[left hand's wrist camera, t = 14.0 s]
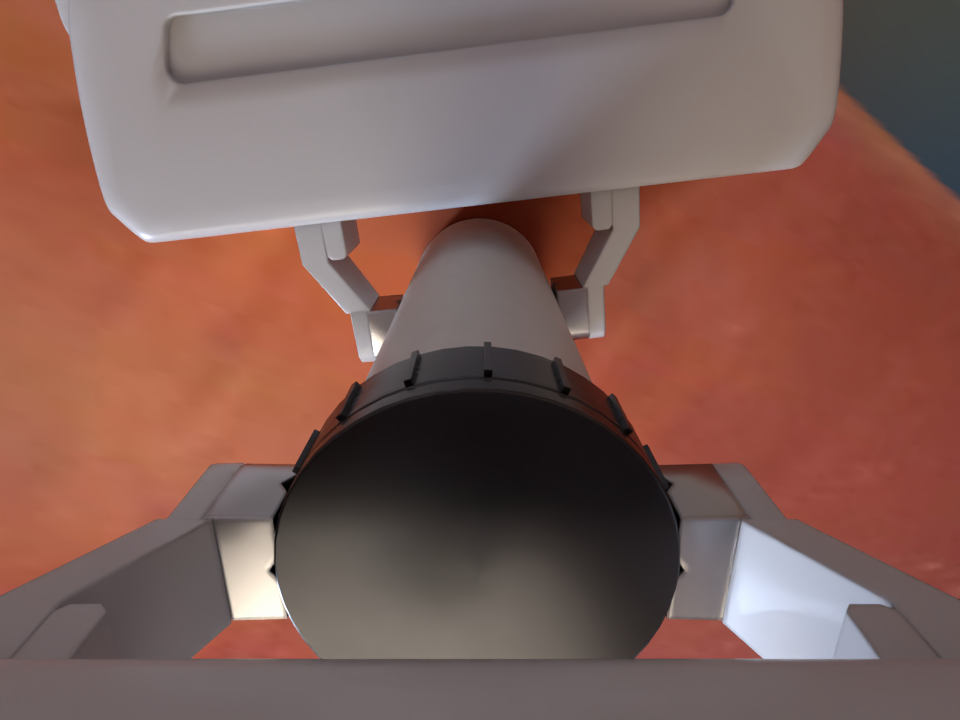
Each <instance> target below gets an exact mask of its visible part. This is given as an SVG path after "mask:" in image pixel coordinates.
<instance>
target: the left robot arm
mask: <svg viewBox="0 0 960 720" xmlns="http://www.w3.org/2000/svg"><path fill="white" fill-rule="evenodd" d="M294 466H295V464H244V463H219V464H213V465H210V466H209V467H208V469H207V470H206V471H205V472H204V474H203V475H202V476H201V477H200V478H199V480H198V481H197V482H196V483H195V485H194V486H193V487H192V488H191V490H190V491H189V492H188V493H187V495H186V496H185V497H184V498H183V500H182V501H181V502H180V503H179V504H178V506H177V507H176V508H175V509H174V511H173V512H172V513H171V514H170V516H169V517H168V518H167V519H156V520H154V521H152V522H150V523H148V524H146V525H144V526H142V527H140V528H138V529H136V530H134V531H132V532H130V533H128V534H126V535H124V536H122V537H120V538H118V539H116V540H114V541H111V542H109V543H107V544H105V545H103V546H101V547H99V548H97V549H95V550H93V551H91V552H89V553H87V554H85V555H83V556H81V557H79V558H77V559H75V560H73V561H71V562H68V563H66V564H64V565H62V566H60V567H58V568H56V569H54V570H52V571H50V572H48V573H46V574H44V575H42V576H40V577H38V578H36V579H34V580H32V581H30V582H28V583H26V584H23V585H21V586H19V587H17V588H15V589H13V590H11V591H9V592H7V593H5V594H3V595H1V596H0V720H960V600H959V599H957V598H955V597H953V596H951V595H949V594H947V593H945V592H943V591H941V590H939V589H937V588H934V587H932V586H930V585H928V584H926V583H924V582H922V581H920V580H918V579H916V578H914V577H912V576H910V575H908V574H906V573H904V572H902V571H900V570H898V569H896V568H894V567H892V566H890V565H888V564H886V563H884V562H882V561H880V560H878V559H876V558H874V557H872V556H870V555H868V554H866V553H864V552H862V551H860V550H858V549H856V548H854V547H852V546H850V545H848V544H846V543H844V542H842V541H839V540H837V539H835V538H833V537H831V536H829V535H827V534H825V533H823V532H821V531H819V530H817V529H815V528H813V527H811V526H809V525H807V524H805V523H803V522H801V521H799V520H797V519H786V517H785V516H784V515H783V514H782V512H781V511H780V510H779V509H778V507H777V506H776V505H775V504H774V502H773V501H772V500H771V498H770V497H769V496H768V495H767V493H766V492H765V491H764V490H763V488H762V487H761V486H760V485H759V483H758V482H757V481H756V480H755V478H754V477H753V476H752V475H751V473H750V472H749V471H748V470H747V468H746V467H745V466H744V465H742V464H740V463H722V464H684V465H658V466H659V467H660V469H661V471H662V473H663V475H664V477H665V479H666V481H667V483H668V485H669V489H667V490H665V491H666V493H667V495H668V497H669V499H670V502H671V505H672V508H673V511H674V514H675V517H676V520H677V525H678V531H679V537H680V569H679V575H678V581H677V587H676V590H675V593H674V596H673V599H672V602H671V605H670V608H669V610H668V612H667V614H666V618H667V619H700V620H723V624H725V625H726V626H727V627H728V628H729V629H730V630H731V631H733V632H734V633H735V634H736V635H737V636H738V637H739V638H740V639H742V640H743V641H744V642H745V643H746V644H747V645H748V646H750V647H751V648H752V649H753V650H754V651H755V652H756V653H757V654H759V655H760V656H761V657H762V658H763V659H191V658H192V657H193V656H194V655H195V654H196V653H198V652H199V651H200V650H201V649H202V648H203V647H204V646H206V645H207V644H208V643H209V642H210V641H211V640H212V639H214V638H215V637H216V636H217V635H218V634H219V633H221V632H222V631H223V630H224V629H225V628H226V627H227V626H229V625H230V624H231V620H253V619H287V618H288V616H289V615H288V613H287V610H286V608H285V606H284V604H283V602H282V598H281V595H280V591H279V588H278V585H277V580H276V573H275V565H274V537H275V531H276V526H277V521H278V516H279V513H280V510H281V508H282V505H283V502H284V500H285V497H286V494H287V492H288V490H289V489H290V487H291V485H292V483H293V481H294V479H295V477H296V475H297V474H296V473H293V472H292V470H293V468H294Z"/></svg>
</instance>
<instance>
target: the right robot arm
mask: <svg viewBox="0 0 960 720" xmlns="http://www.w3.org/2000/svg"><path fill="white" fill-rule="evenodd" d="M55 2H56V5H57V8H58V11H59V14H60V17H61V20H62V22H63V25H64V26H65V28H66V30H67V32H68V34H69V35H70V42H71V49H72V55H73V62H74V68H75V75H76V81H77V86H78V92H79V98H80V103H81V108H82V113H83V117H84V122H85V127H86V132H87V136H88V141H89V145H90V149H91V153H92V158H93V162H94V165H95V169H96V173H97V177H98V181H99V184H100V188H101V191H102V194H103V197H104V200H105V202H106V204H107V207H108V209H109V210H110V212H111V213H112V214H113V215H114V216H115V217H116V218H118V219H119V220H120V221H121V222H122V223H123V224H124V225H125V226H127V227H128V228H129V229H130V230H131V231H132V232H134V233H135V234H136V235H137V236H139V237H140V238H141V239H142V240H144V241H146V242H152V243H155V242H165V241H173V240H182V239H191V238H199V237H208V236H216V235H225V234H234V233H242V232H251V231H260V230H268V229H277V228H285V227H294V228H295V233H296V237H297V242H298V246H299V251H300V255H301V260H302V264H303V266H304V267H305V268H306V269H307V270H308V271H309V272H310V273H311V275H312V276H313V277H314V278H315V279H316V280H317V281H318V282H319V284H320V285H321V286H322V287H323V288H324V289H325V290H326V291H327V292H328V294H329V295H330V296H331V297H332V298H333V299H334V300H335V301H336V303H337V304H338V305H339V306H340V307H341V308H342V309H343V310H344V312H345V313H350V314H351V319H352V324H353V329H354V334H355V339H356V344H357V349H358V354H359V357H360V359H361V361H362V362H372V361H375V359H376V357H377V354H378V352H379V350H380V348H381V345H382V343H383V341H384V339H385V337H386V334H387V332H388V330H389V328H390V326H391V323H392V321H393V319H394V317H395V315H396V312H397V310H398V308H399V306H400V304H401V301H402V299H403V294H402V295H390V296H379V294H378V293H377V292H376V290H375V289H374V288H373V287H372V285H371V284H370V283H369V281H368V280H367V279H366V278H365V276H364V275H363V274H362V272H361V271H360V270H359V269H358V267H357V266H356V265H355V264H354V262H353V261H352V260H351V258H350V257H349V256H348V255H349V254H350V253H351V252H352V251H353V250H354V249H355V248H356V247H357V246H358V244H359V243H360V240H359V234H358V229H357V223H356V219H363V218H372V217H380V216H389V215H397V214H406V213H415V212H423V211H432V210H440V209H449V208H458V207H466V206H475V205H484V204H492V203H501V202H509V201H518V200H527V199H535V198H544V197H552V196H561V195H570V194H578V193H580V200H581V215H582V218H583V219H584V220H585V221H586V222H588V223H589V224H590V225H591V226H592V227H593V228H594V229H595V231H594V233H593V235H592V237H591V239H590V242H589V244H588V246H587V248H586V250H585V252H584V254H583V256H582V258H581V260H580V262H579V265H578V267H577V269H576V271H575V273H574V274H575V275H570V276H562V277H555V278H551V289H552V292H553V294H554V296H555V299H556V301H557V303H558V306H559V308H560V310H561V312H562V315H563V317H564V319H565V322H566V324H567V326H568V329H569V331H570V333H571V336H572V338H573V340H578V339H588V338H597V337H604V335H605V303H604V285H608V284H609V282H610V280H611V278H612V277H613V275H614V273H615V271H616V269H617V267H618V266H619V264H620V262H621V260H622V258H623V257H624V255H625V253H626V251H627V249H628V247H629V246H630V244H631V242H632V240H633V238H634V237H635V235H636V233H637V231H638V229H639V227H640V196H639V186H647V185H656V184H665V183H673V182H682V181H690V180H699V179H708V178H716V177H725V176H733V175H742V174H751V173H759V172H768V171H776V170H784V169H793V168H795V167H798V166H800V165H801V164H802V163H803V162H804V161H805V160H806V159H807V158H808V157H809V155H810V154H811V153H812V152H813V150H814V149H815V148H816V146H817V145H818V144H819V142H820V141H821V139H822V138H823V137H824V135H825V134H826V133H827V131H828V130H829V128H830V127H831V124H832V122H833V120H834V115H835V111H836V107H837V99H838V91H839V80H840V68H841V53H842V32H843V0H55Z"/></svg>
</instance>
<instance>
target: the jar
mask: <svg viewBox="0 0 960 720" xmlns="http://www.w3.org/2000/svg"><path fill="white" fill-rule="evenodd" d="M484 342H491V347H500V348H507V349H514V350H520V351H523V352H527V353H531V354H535V355H538V356H542V357H544V358H547V359H549V360H552V361H553V359H554V357H558V358H560V359H561V360H562V363H563V365H564V366H566V367H568V368H569V369H571V370H573V371H574V372H576V373H578V374H580V375H581V376H583V377H585V378H586V379H588V380H589V381H590V382H591V379H590V377H589V375H588V372H587V370H586V368H585V365H584V363H583V361H582V359H581V356H580V354H579V352H578V349H577V347H576V345H575V342H574V340H573V338H572V336H571V333H570V331H569V329H568V326H567V324H566V322H565V319H564V317H563V315H562V312H561V310H560V308H559V306H558V303H557V301H556V299H555V296H554V294H553V292H552V289H551V287H550V285H549V282H548V280H547V278H546V276H545V273H544V271H543V269H542V266H541V264H540V262H539V259H538V257H537V255H536V253H535V251H534V249H533V247H532V246H531V245H530V243H529V242H528V241H527V239H526V238H525V237H524V236H523V235H522V234H520V233H519V232H518V231H517V230H515V229H514V228H512V227H511V226H509V225H507V224H504V223H502V222H499V221H496V220H491V219H484V218H475V219H467V220H463V221H460V222H457V223H455V224H452V225H450V226H449V227H447V228H445V229H444V230H442V231H441V232H440V233H439V234H437V235H436V236H435V237H434V238H433V239H432V241H431V242H430V243H429V245H428V246H427V248H426V249H425V251H424V253H423V255H422V257H421V260H420V262H419V264H418V266H417V268H416V271H415V273H414V275H413V277H412V279H411V282H410V284H409V286H408V288H407V290H406V293H405V295H404V297H403V299H402V301H401V304H400V306H399V308H398V310H397V312H396V315H395V317H394V319H393V321H392V323H391V326H390V328H389V330H388V332H387V334H386V337H385V339H384V341H383V343H382V345H381V348H380V350H379V352H378V354H377V357H376V359H375V361H374V363H373V365H372V368H371V370H370V372H369V374H368V376H367V379H369V378H370V377H372V376H373V375H374V374H376V373H378V372H380V371H382V370H384V369H386V368H388V367H389V366H391V365H393V364H395V363H397V362H400V361H403V360H405V359H408V358H410V357H411V354H412V352H413V351H416V350H419V352H420V354H423V353H427V352H432V351H436V350H440V349H446V348H456V347H465V346H484ZM367 379H366V380H367ZM591 383H592V382H591Z"/></svg>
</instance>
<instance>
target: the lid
mask: <svg viewBox="0 0 960 720" xmlns="http://www.w3.org/2000/svg"><path fill="white" fill-rule="evenodd" d="M292 472H293V473H296V474H297V475H296V477H295V479H294V481H293V483H292V485H291V487H290V489H289V490H288V492H287V494H286V497H285V500H284V502H283V505H282V508H281V510H280V513H279V516H278V521H277V526H276V531H275V537H274V565H275V573H276V580H277V585H278V588H279V591H280V595H281V598H282V602H283V604H284V606H285V608H286V610H287V613H288V615H289V617H290V619H291V621H292V623H293V624H294V626H295V627H296V629H297V630H298V632H299V634H300V635H301V637H302V638H303V640H304V641H305V642H306V643H307V644H308V646H309V647H310V648H311V649H312V650H313V651H314V652H315V654H316V655H317V656H318V657H319V658H320V659H635V657H636V656H637V655H638V654H639V653H640V652H641V651H642V650H643V649H644V648H645V647H646V646H647V644H648V643H649V642H650V640H651V639H652V637H653V636H654V634H655V633H656V632H657V630H658V629H659V627H660V626H661V624H662V622H663V620H664V618H665V616H666V614H667V612H668V610H669V608H670V605H671V602H672V599H673V596H674V593H675V590H676V587H677V581H678V575H679V569H680V537H679V531H678V525H677V520H676V517H675V514H674V511H673V508H672V505H671V502H670V499H669V497H668V495H667V493H666V491H665V490H667V489H669V485H668V483H667V481H666V479H665V477H664V475H663V473H662V471H661V469H660V467H659V466H658V464H657V462H656V460H655V458H654V456H653V454H652V452H651V450H650V448H649V447H648V445H644V446H642V444H641V442H640V440H639V438H638V436H637V434H636V432H635V430H634V428H633V427H632V425H631V423H630V422H629V421H628V419H627V417H626V415H625V413H624V411H623V409H622V407H621V405H620V403H619V401H618V399H617V397H616V396H615V395H614V394H611V395H610V396H607V395H606V394H605V393H604V392H603V391H602V390H601V389H599V388H598V387H597V386H595V385H594V384H593V383H591V382H590V381H589V380H588V379H586V378H585V377H583V376H581V375H580V374H578V373H576V372H574V371H573V370H571V369H569V368H568V367H566V366H564V365H563V363H562V360H561V359H560V358H558V357H554V359H553V361H552V360H549V359H547V358H544V357H542V356H538V355H535V354H531V353H527V352H523V351H520V350H514V349H507V348H500V347H491V342H484V346H465V347H456V348H446V349H440V350H436V351H432V352H427V353H423V354H420V352H419V350H416V351H413V352H412V354H411V357H410V358H408V359H405V360H403V361H400V362H397V363H395V364H393V365H391V366H389V367H388V368H386V369H384V370H382V371H380V372H378V373H376V374H374V375H373V376H372V377H370V378H369V379H367V380H366V381H365V382H363V383H362V384H359V383H358V382H357V381H356V382H355V383H353V384H352V385H351V387H350V389H349V391H348V393H347V395H346V397H345V399H344V400H343V401H341V402H340V403H339V405H338V406H337V407H336V408H335V410H334V411H333V412H332V414H331V415H330V416H329V417H328V419H327V420H326V422H325V423H324V425H323V427H322V429H321V430H320V432H319V431H317V430H314V431H313V433H312V435H311V437H310V439H309V441H308V442H307V444H306V446H305V448H304V450H303V451H302V453H301V455H300V457H299V459H298V461H297V462H296V464H295V466H294V468H293V470H292Z"/></svg>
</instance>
